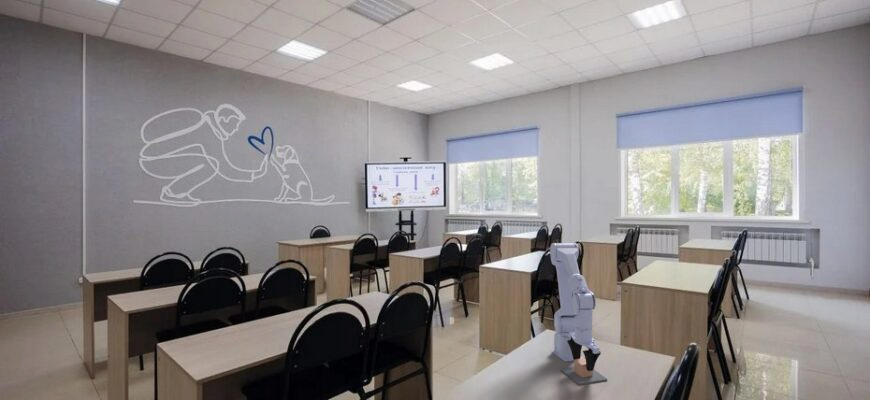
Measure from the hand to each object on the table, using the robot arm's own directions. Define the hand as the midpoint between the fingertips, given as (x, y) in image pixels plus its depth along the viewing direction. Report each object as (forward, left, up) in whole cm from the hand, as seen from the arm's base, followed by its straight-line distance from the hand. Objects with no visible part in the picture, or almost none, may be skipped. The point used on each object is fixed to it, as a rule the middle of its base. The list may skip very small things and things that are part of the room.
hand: (583, 365), depth 140 cm
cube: (0, 0, -3) cm, 3 cm away
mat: (0, 0, -3) cm, 3 cm away
